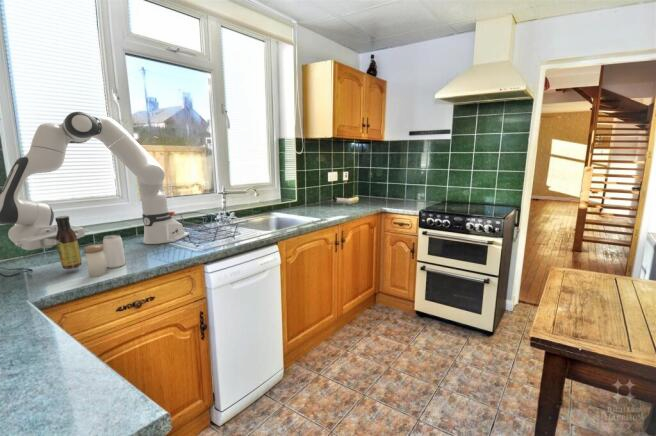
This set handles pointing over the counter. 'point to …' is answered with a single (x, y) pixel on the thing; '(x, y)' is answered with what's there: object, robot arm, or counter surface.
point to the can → (113, 251)
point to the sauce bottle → (67, 244)
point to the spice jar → (95, 260)
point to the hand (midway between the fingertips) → (67, 239)
